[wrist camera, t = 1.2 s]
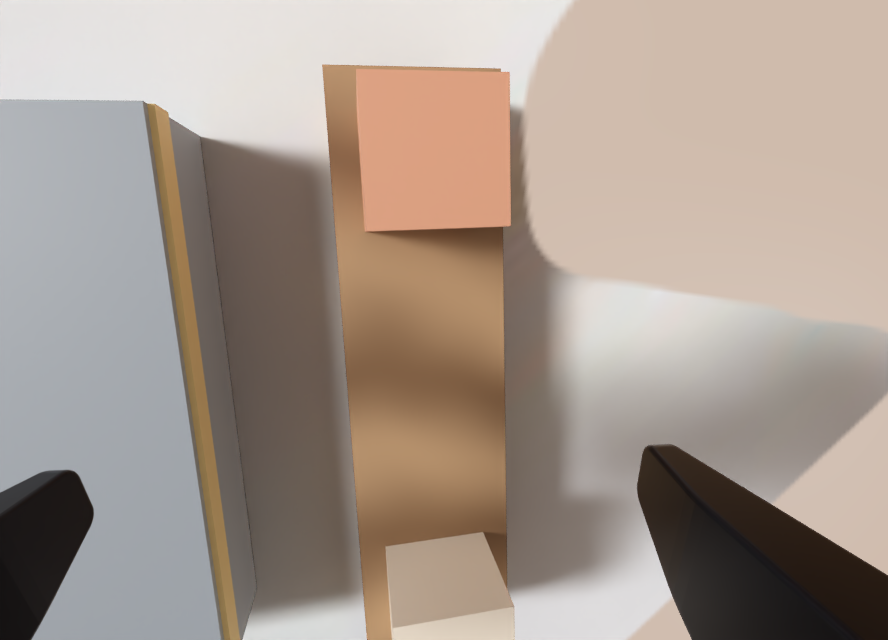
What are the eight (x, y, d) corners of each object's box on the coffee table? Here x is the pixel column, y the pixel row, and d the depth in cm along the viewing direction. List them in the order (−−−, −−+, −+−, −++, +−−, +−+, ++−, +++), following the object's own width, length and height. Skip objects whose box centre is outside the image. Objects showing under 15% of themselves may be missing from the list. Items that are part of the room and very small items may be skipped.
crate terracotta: (476, 227, 17) (510, 226, 13) (364, 231, 16) (366, 231, 12) (473, 110, 16) (509, 72, 12) (356, 109, 16) (356, 68, 12)
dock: (261, 587, 22) (233, 687, 17) (39, 622, 20) (-61, 743, 16) (205, 136, 18) (149, 100, 13) (-72, 136, 17) (-247, 97, 12)
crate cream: (485, 616, 20) (515, 707, 16) (391, 632, 19) (399, 732, 16) (483, 532, 19) (514, 606, 15) (385, 546, 19) (392, 628, 15)
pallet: (483, 574, 24) (507, 638, 20) (367, 593, 23) (369, 664, 19) (473, 100, 20) (500, 68, 16) (329, 99, 19) (322, 64, 15)
